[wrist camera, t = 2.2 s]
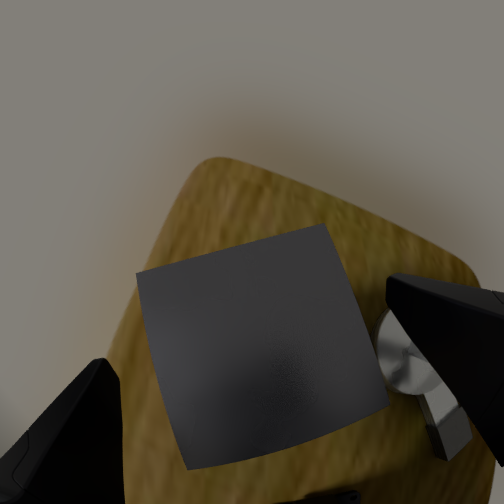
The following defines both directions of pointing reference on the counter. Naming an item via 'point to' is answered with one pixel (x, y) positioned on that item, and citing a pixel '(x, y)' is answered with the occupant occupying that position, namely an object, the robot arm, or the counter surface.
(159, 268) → the dark grey square block
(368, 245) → the counter surface
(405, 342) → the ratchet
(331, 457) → the counter surface
